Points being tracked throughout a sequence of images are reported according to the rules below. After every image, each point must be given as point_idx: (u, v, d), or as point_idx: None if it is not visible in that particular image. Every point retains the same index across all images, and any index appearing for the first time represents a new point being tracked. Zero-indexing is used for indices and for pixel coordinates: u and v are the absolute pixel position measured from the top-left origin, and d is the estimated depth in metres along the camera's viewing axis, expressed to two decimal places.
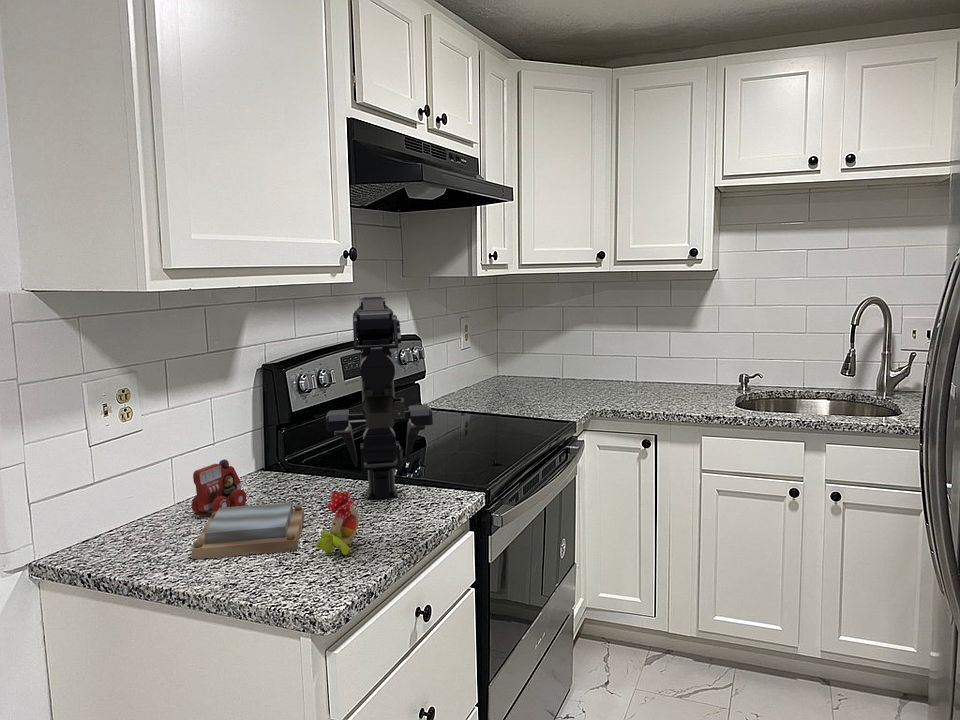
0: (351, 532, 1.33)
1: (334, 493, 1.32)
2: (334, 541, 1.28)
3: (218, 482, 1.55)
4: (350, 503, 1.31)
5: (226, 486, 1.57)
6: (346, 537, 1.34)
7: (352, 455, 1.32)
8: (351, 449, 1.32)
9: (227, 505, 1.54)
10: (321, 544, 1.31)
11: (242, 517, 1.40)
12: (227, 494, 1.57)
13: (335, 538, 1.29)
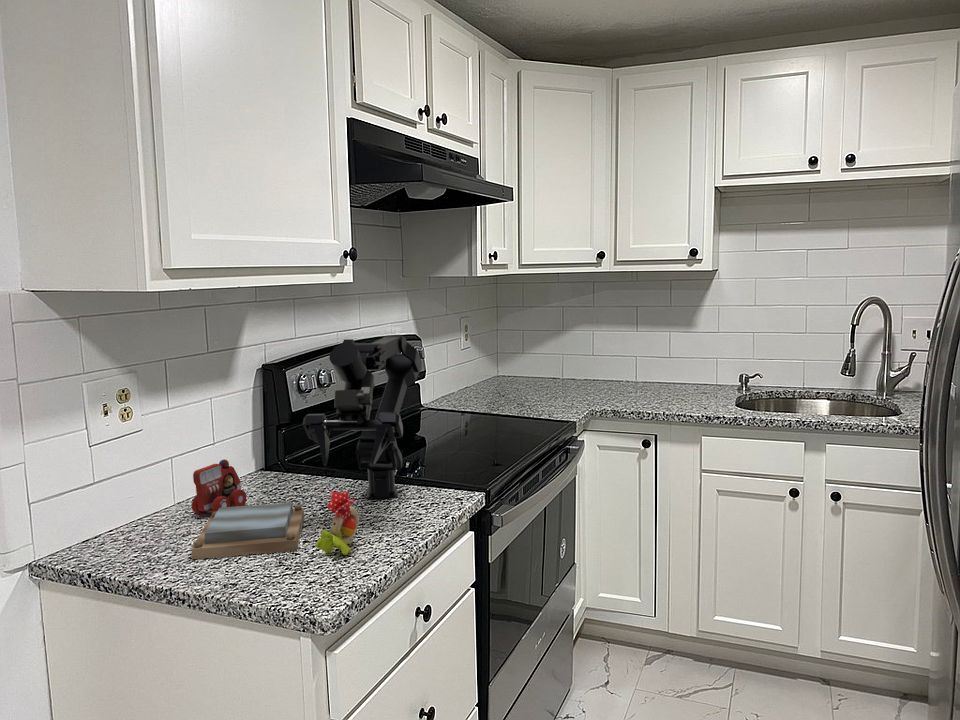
0: (351, 532, 1.33)
1: (334, 493, 1.32)
2: (334, 541, 1.28)
3: (218, 482, 1.55)
4: (350, 503, 1.31)
5: (226, 486, 1.57)
6: (346, 537, 1.34)
7: (322, 451, 1.40)
8: (321, 446, 1.41)
9: (227, 505, 1.54)
10: (321, 544, 1.31)
11: (242, 517, 1.40)
12: (227, 494, 1.57)
13: (335, 538, 1.29)
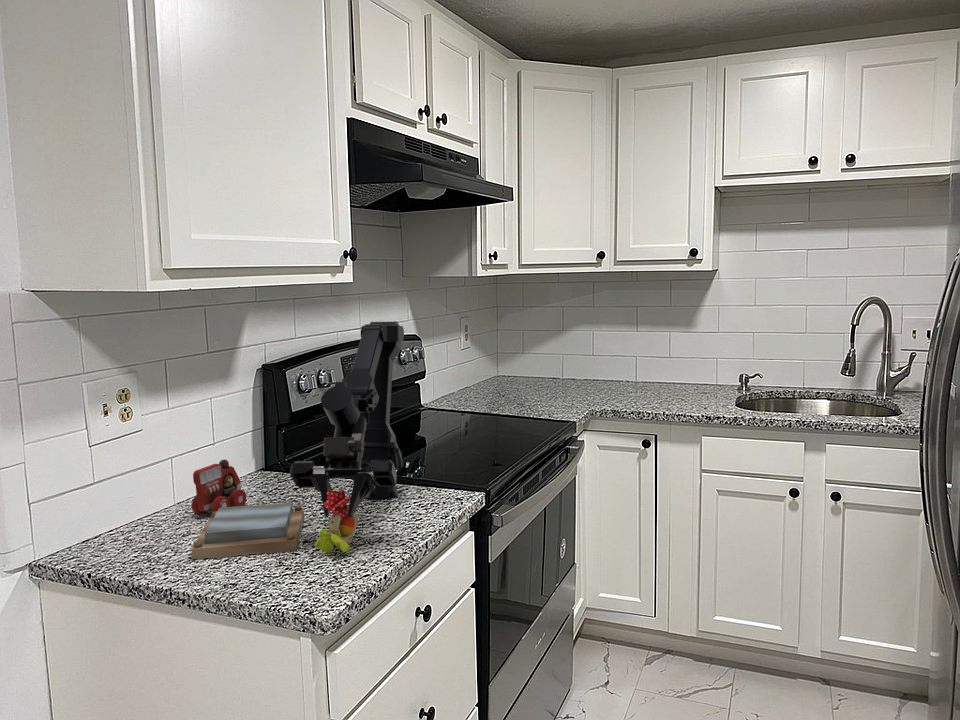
0: (350, 530, 1.33)
1: (330, 492, 1.32)
2: (332, 538, 1.28)
3: (218, 482, 1.55)
4: (346, 500, 1.32)
5: (226, 486, 1.57)
6: (345, 536, 1.34)
7: None
8: (324, 496, 1.32)
9: (227, 505, 1.54)
10: (321, 543, 1.31)
11: (242, 517, 1.40)
12: (227, 494, 1.57)
13: (333, 536, 1.29)
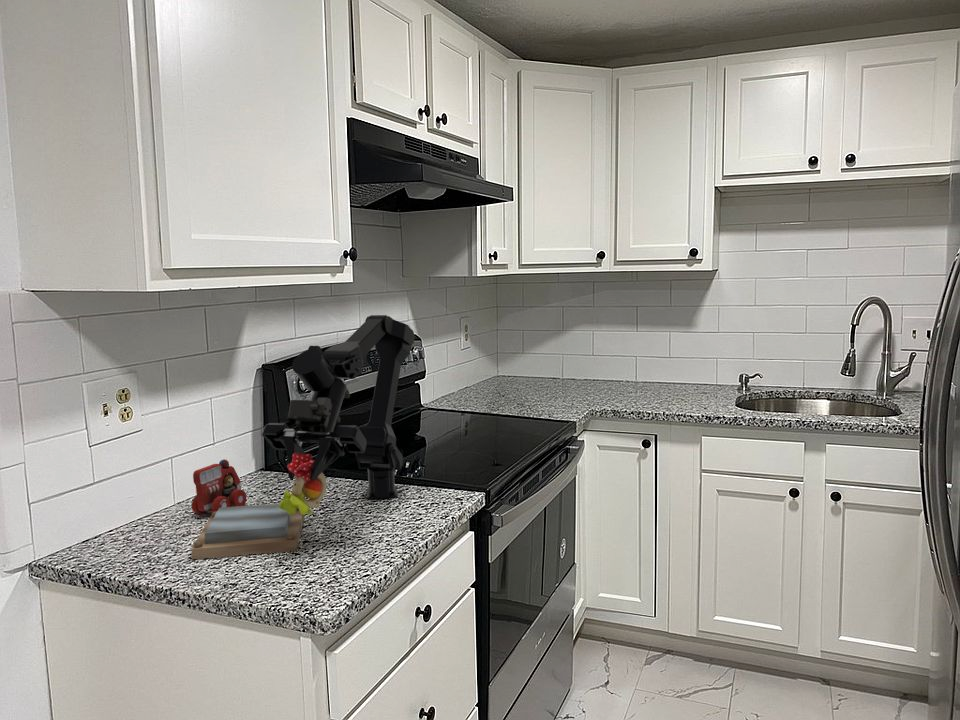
0: (315, 494, 1.33)
1: (295, 454, 1.33)
2: (291, 500, 1.29)
3: (218, 482, 1.55)
4: (310, 464, 1.32)
5: (226, 486, 1.57)
6: (312, 500, 1.34)
7: None
8: (290, 458, 1.33)
9: (227, 505, 1.54)
10: (284, 505, 1.32)
11: (242, 517, 1.40)
12: (227, 494, 1.57)
13: (293, 498, 1.29)
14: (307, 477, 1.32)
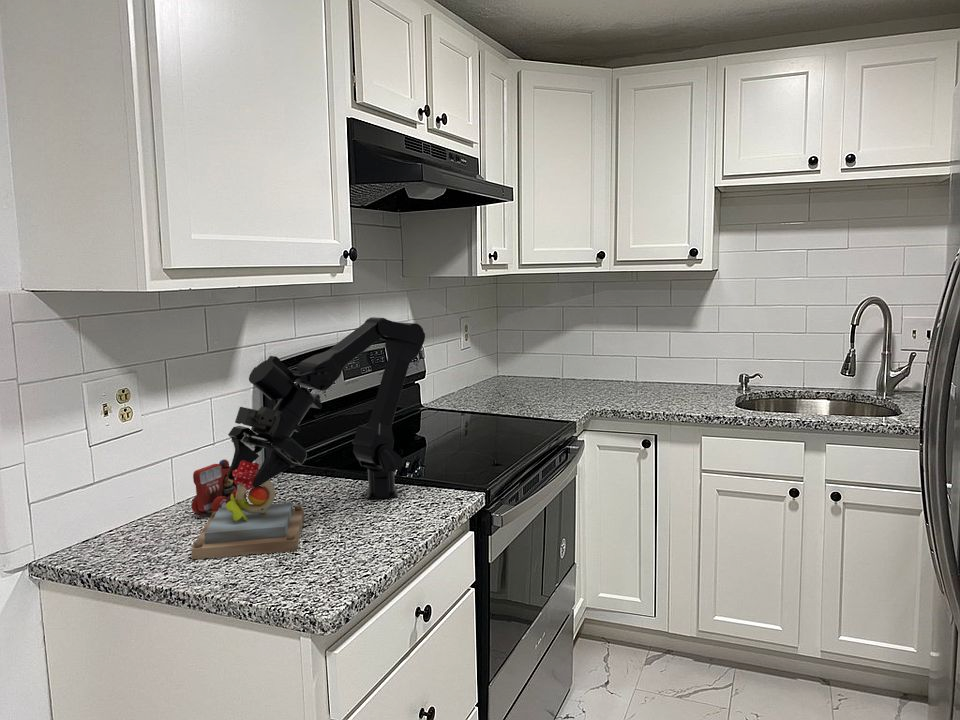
0: (256, 502, 1.39)
1: (243, 462, 1.39)
2: (227, 505, 1.36)
3: (218, 482, 1.55)
4: (250, 474, 1.37)
5: (226, 486, 1.57)
6: (257, 506, 1.41)
7: (231, 465, 1.42)
8: (233, 460, 1.42)
9: None
10: None
11: None
12: (227, 494, 1.57)
13: (230, 503, 1.37)
14: (249, 485, 1.38)
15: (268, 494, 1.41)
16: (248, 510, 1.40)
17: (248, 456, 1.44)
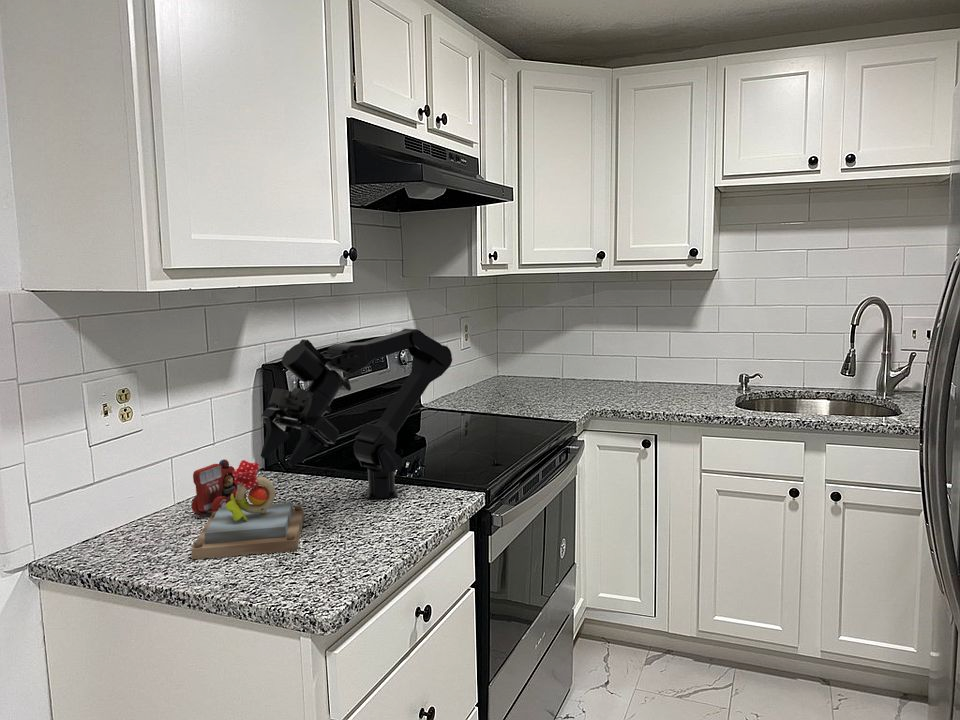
0: (256, 502, 1.39)
1: (243, 462, 1.39)
2: (227, 505, 1.36)
3: (218, 482, 1.55)
4: (250, 474, 1.37)
5: (226, 486, 1.57)
6: (257, 506, 1.41)
7: (264, 444, 1.47)
8: (266, 439, 1.48)
9: None
10: None
11: None
12: (227, 494, 1.57)
13: (230, 503, 1.37)
14: (249, 485, 1.38)
15: (268, 494, 1.41)
16: (248, 510, 1.40)
17: (279, 436, 1.50)
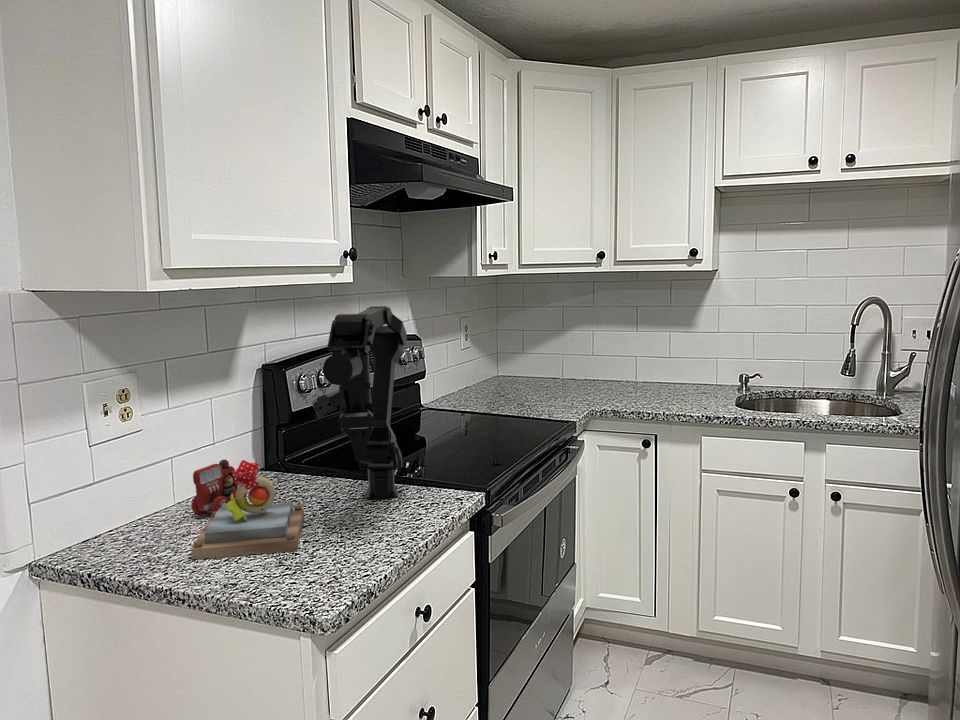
0: (256, 502, 1.39)
1: (243, 462, 1.39)
2: (227, 505, 1.36)
3: (218, 482, 1.55)
4: (250, 474, 1.37)
5: (226, 486, 1.57)
6: (257, 506, 1.41)
7: None
8: None
9: None
10: None
11: None
12: (227, 494, 1.57)
13: (230, 503, 1.37)
14: (249, 485, 1.38)
15: (268, 494, 1.41)
16: (248, 510, 1.40)
17: None
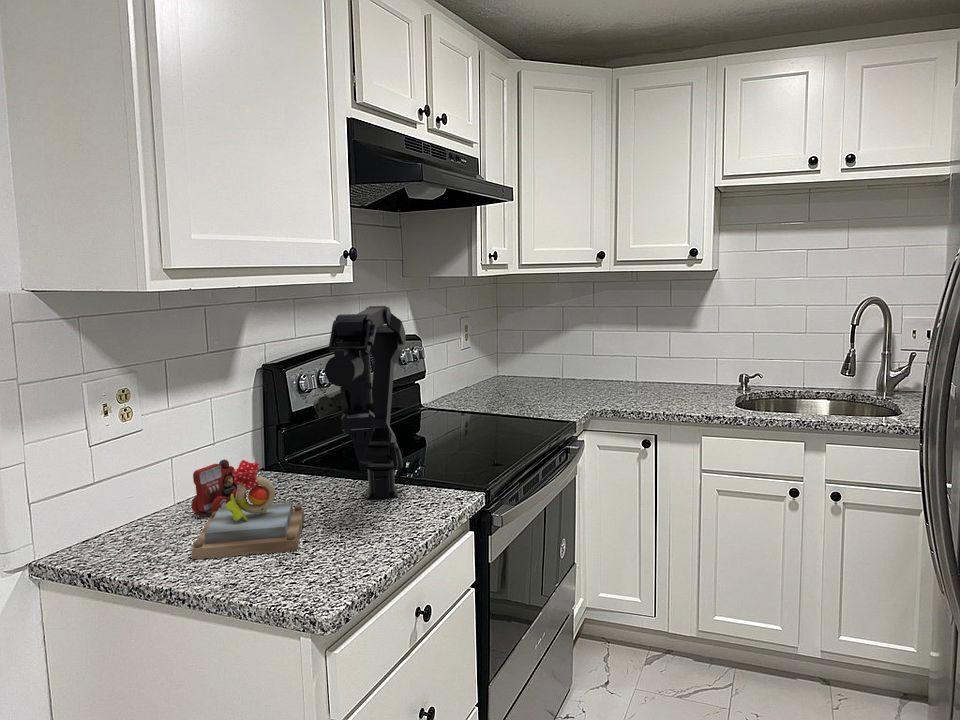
0: (256, 502, 1.39)
1: (243, 462, 1.39)
2: (227, 505, 1.36)
3: (218, 482, 1.55)
4: (250, 474, 1.37)
5: (226, 486, 1.57)
6: (257, 506, 1.41)
7: None
8: None
9: None
10: None
11: None
12: (227, 494, 1.57)
13: (230, 503, 1.37)
14: (249, 485, 1.38)
15: (268, 494, 1.41)
16: (248, 510, 1.40)
17: None
